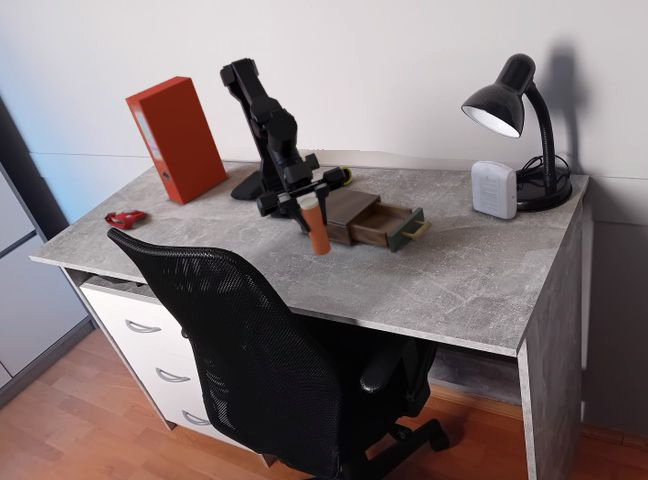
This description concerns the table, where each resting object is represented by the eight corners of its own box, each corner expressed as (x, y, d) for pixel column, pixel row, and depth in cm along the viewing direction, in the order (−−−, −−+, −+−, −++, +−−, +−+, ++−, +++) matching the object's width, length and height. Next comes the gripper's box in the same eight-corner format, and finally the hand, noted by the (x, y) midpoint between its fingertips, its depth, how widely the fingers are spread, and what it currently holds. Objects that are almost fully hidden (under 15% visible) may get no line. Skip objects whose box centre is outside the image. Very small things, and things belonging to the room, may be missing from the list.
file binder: (228, 178, 172) (190, 77, 153) (184, 204, 163) (138, 100, 144) (213, 174, 177) (175, 76, 158) (170, 199, 168) (124, 98, 149)
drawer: (440, 227, 122) (438, 210, 120) (410, 257, 116) (408, 240, 113) (374, 213, 134) (371, 198, 131) (344, 240, 127) (340, 224, 124)
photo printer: (520, 212, 122) (518, 162, 115) (509, 221, 120) (507, 171, 113) (482, 202, 129) (478, 154, 122) (471, 210, 127) (466, 162, 120)
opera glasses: (340, 181, 155) (333, 165, 153) (354, 179, 152) (348, 163, 150) (322, 198, 149) (315, 182, 147) (337, 196, 146) (330, 180, 144)
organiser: (384, 216, 133) (380, 195, 129) (351, 246, 125) (345, 224, 122) (336, 206, 142) (331, 186, 139) (302, 233, 135) (296, 212, 131)
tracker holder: (144, 206, 165) (143, 212, 156) (147, 220, 166) (145, 227, 157) (101, 211, 162) (97, 217, 153) (104, 225, 163) (100, 232, 154)
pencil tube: (311, 250, 116) (296, 202, 109) (325, 243, 117) (312, 194, 110) (319, 257, 113) (304, 208, 106) (334, 249, 114) (320, 200, 107)
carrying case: (258, 203, 153) (286, 178, 163) (255, 194, 151) (283, 169, 161) (229, 201, 158) (258, 177, 168) (226, 192, 156) (255, 168, 166)
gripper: (242, 160, 103) (274, 234, 101) (332, 129, 107) (364, 199, 104) (246, 182, 114) (275, 249, 112) (328, 153, 118) (357, 217, 115)
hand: (317, 228), depth 110 cm, fingers closed on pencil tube, 3 cm apart
